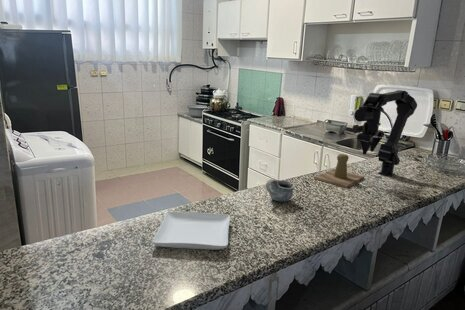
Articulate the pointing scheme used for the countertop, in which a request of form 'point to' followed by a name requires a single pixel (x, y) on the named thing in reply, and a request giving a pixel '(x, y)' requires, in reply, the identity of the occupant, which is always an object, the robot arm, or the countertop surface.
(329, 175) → the walnut board
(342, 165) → the cork
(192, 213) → the salad plate
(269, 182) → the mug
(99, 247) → the countertop surface
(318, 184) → the countertop surface
